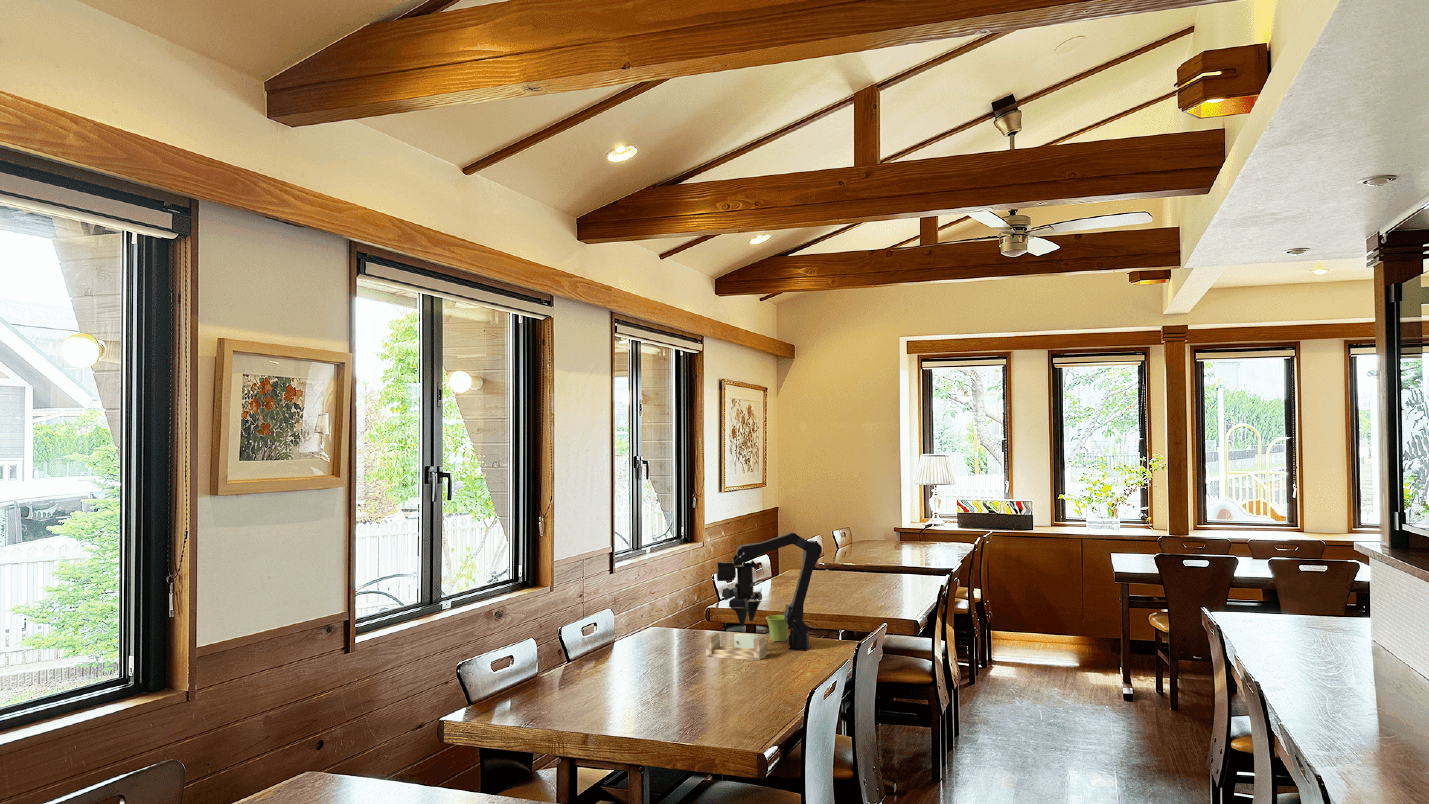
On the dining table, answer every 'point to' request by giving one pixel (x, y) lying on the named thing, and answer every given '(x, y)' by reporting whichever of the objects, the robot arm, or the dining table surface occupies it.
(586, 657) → the dining table surface
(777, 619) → the plant pot
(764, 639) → the wooden u-shaped holder
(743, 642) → the pale green rectangular block
